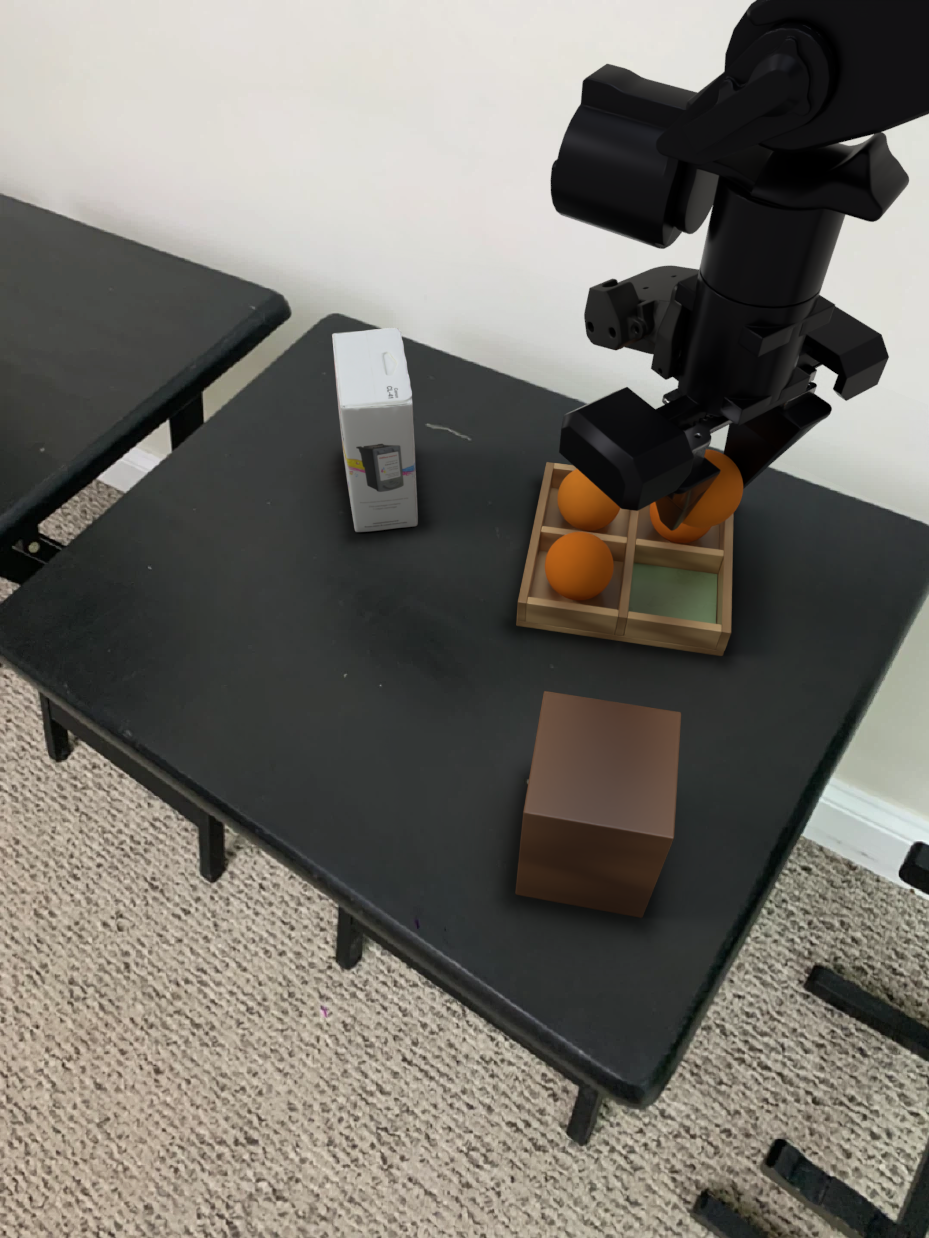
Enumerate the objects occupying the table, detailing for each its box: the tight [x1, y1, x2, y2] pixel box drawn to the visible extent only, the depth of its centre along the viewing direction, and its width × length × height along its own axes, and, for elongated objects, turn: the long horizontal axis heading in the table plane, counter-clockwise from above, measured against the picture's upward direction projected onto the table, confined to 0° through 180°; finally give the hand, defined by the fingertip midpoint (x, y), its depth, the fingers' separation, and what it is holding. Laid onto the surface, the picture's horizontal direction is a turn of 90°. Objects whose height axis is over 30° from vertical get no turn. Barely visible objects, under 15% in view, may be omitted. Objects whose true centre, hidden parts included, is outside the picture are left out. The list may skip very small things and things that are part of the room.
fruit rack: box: [515, 461, 735, 657], centre depth 65 cm, size 14×14×3 cm
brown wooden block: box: [515, 690, 682, 919], centre depth 49 cm, size 7×7×10 cm
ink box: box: [331, 327, 419, 533], centre depth 66 cm, size 9×5×12 cm, turn 9°
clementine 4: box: [682, 448, 744, 528], centre depth 55 cm, size 5×5×5 cm
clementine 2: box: [545, 532, 614, 600], centre depth 62 cm, size 5×5×5 cm
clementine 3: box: [650, 502, 711, 543], centre depth 65 cm, size 5×5×5 cm
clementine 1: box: [557, 469, 620, 531], centre depth 66 cm, size 5×5×5 cm
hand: (697, 509), depth 56 cm, fingers closed on clementine 4, 4 cm apart
